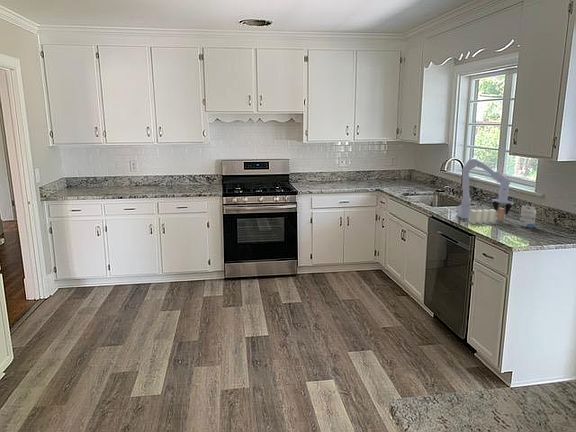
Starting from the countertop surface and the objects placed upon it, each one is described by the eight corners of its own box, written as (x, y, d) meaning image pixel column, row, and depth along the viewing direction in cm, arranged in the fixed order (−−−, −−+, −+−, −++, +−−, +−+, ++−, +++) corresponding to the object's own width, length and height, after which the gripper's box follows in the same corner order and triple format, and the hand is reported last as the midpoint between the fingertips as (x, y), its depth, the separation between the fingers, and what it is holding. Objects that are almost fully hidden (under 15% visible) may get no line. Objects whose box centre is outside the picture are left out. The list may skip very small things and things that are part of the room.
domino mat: (463, 221, 305) (463, 220, 305) (499, 219, 310) (499, 219, 310) (473, 225, 293) (473, 224, 293) (510, 223, 298) (510, 223, 298)
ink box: (534, 227, 290) (537, 206, 287) (532, 228, 287) (535, 207, 283) (520, 224, 296) (523, 204, 293) (518, 226, 292) (521, 205, 289)
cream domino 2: (475, 222, 301) (477, 209, 298) (477, 222, 301) (479, 209, 299) (480, 223, 296) (481, 211, 294) (482, 223, 296) (483, 211, 294)
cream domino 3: (482, 221, 301) (483, 209, 299) (484, 221, 302) (485, 209, 300) (486, 223, 297) (488, 211, 294) (488, 223, 297) (490, 211, 295)
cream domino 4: (488, 221, 302) (490, 209, 300) (490, 221, 302) (492, 209, 300) (493, 223, 297) (494, 210, 295) (495, 223, 298) (496, 210, 296)
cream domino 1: (469, 222, 300) (470, 209, 298) (471, 222, 300) (472, 209, 298) (473, 224, 295) (474, 211, 293) (475, 224, 295) (477, 211, 293)
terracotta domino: (496, 219, 309) (498, 207, 307) (498, 219, 309) (500, 207, 307) (501, 221, 304) (502, 208, 302) (503, 221, 304) (504, 208, 302)
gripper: (490, 193, 305) (488, 212, 308) (510, 196, 294) (508, 215, 297) (495, 192, 309) (493, 210, 313) (515, 195, 298) (513, 214, 301)
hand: (501, 213), depth 305 cm, fingers open, 7 cm apart
